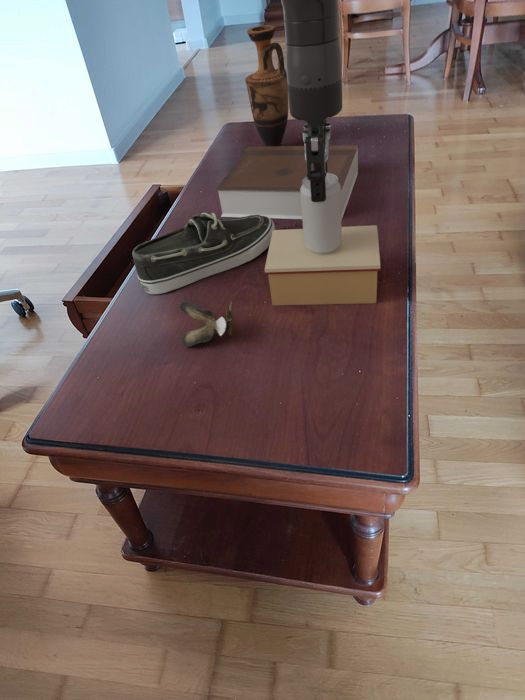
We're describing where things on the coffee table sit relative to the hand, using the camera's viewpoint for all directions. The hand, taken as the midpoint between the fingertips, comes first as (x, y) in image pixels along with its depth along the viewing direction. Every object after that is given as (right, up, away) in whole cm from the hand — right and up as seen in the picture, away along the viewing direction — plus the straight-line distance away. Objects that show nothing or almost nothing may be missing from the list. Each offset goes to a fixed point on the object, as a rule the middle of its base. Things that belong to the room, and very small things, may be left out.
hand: (319, 188), depth 81 cm
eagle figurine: (-18, -23, +5) cm, 30 cm away
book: (-2, +12, +42) cm, 43 cm away
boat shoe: (-19, -8, +23) cm, 31 cm away
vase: (-6, +29, +62) cm, 69 cm away
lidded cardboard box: (+2, -14, +12) cm, 18 cm away
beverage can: (+1, -8, +7) cm, 11 cm away
